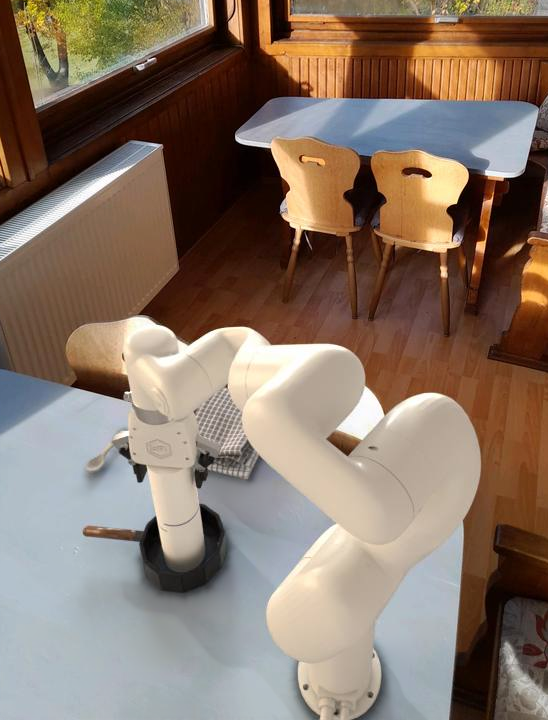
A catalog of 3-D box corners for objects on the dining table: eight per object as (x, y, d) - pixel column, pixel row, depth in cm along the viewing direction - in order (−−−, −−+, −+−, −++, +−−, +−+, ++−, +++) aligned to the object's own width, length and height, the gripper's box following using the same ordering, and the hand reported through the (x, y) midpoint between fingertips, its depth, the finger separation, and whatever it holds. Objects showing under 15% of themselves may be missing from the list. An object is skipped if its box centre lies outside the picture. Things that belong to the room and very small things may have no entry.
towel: (278, 418, 145) (277, 391, 141) (246, 484, 130) (244, 457, 126) (215, 403, 149) (212, 377, 145) (176, 466, 134) (172, 439, 130)
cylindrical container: (196, 576, 114) (181, 478, 101) (157, 567, 115) (137, 470, 102) (211, 539, 120) (198, 442, 107) (174, 532, 121) (157, 435, 108)
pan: (214, 596, 111) (212, 580, 109) (69, 580, 113) (64, 564, 111) (233, 522, 123) (231, 506, 121) (102, 509, 125) (98, 493, 123)
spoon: (83, 473, 132) (82, 465, 131) (120, 433, 142) (119, 426, 141) (95, 477, 131) (94, 470, 130) (132, 437, 141) (131, 430, 140)
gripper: (93, 415, 96) (111, 492, 105) (210, 425, 95) (218, 503, 104) (112, 379, 102) (128, 455, 111) (222, 388, 101) (229, 464, 110)
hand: (172, 478), depth 107 cm, fingers open, 9 cm apart
